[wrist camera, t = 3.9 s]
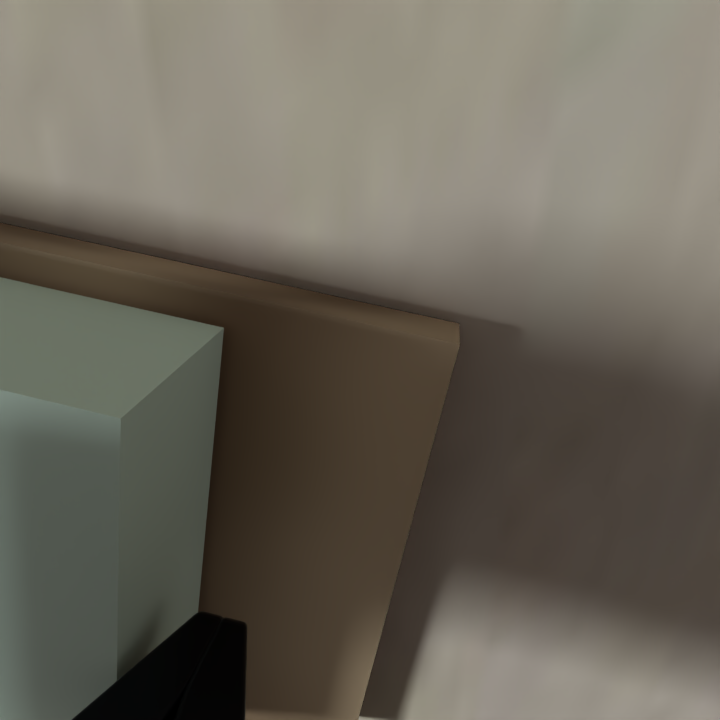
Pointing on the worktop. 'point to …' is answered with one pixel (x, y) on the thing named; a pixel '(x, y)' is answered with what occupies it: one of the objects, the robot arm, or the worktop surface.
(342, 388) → the board
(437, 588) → the worktop surface
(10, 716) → the cover
